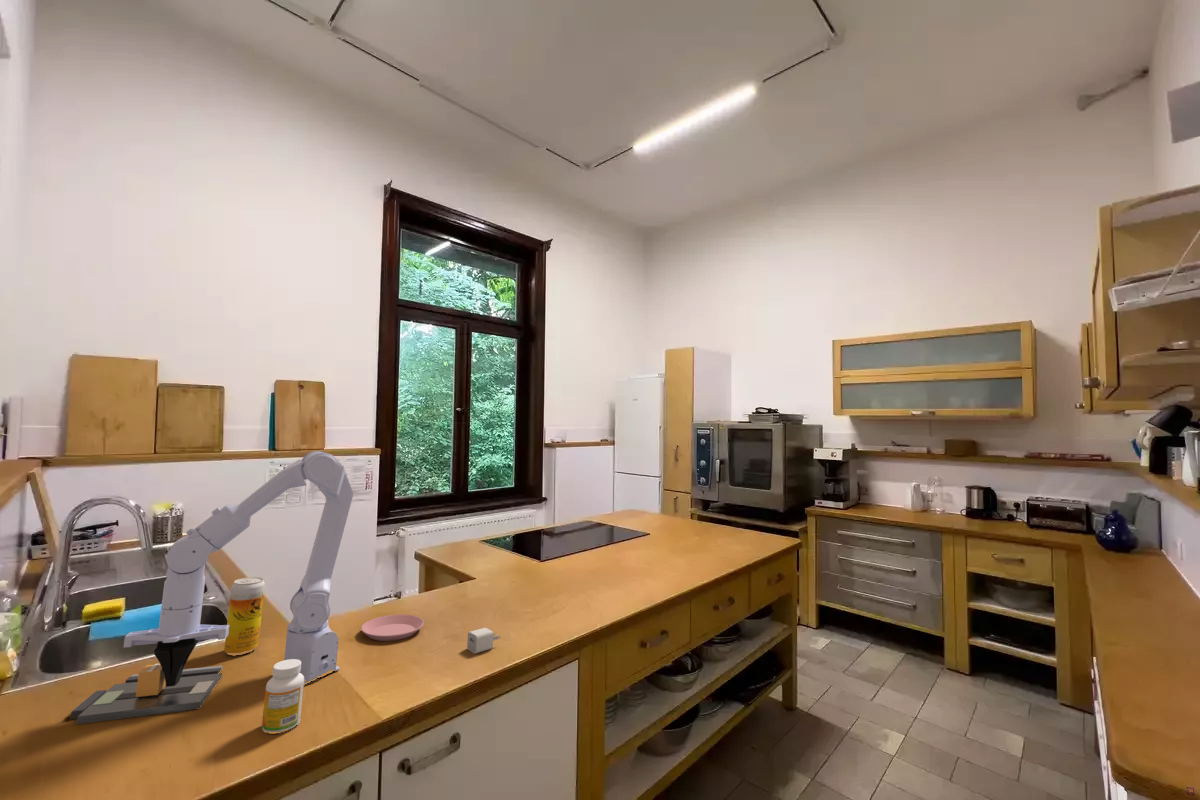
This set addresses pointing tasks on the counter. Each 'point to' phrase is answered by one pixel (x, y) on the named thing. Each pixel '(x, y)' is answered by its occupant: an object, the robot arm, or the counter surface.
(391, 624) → the plate
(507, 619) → the counter surface
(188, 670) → the flat board
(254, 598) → the beer can
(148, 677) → the cardboard box
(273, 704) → the supplement bottle
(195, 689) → the panel
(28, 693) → the counter surface
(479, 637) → the usb wall charger
